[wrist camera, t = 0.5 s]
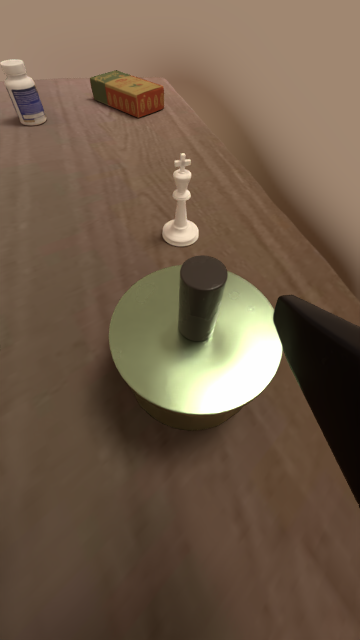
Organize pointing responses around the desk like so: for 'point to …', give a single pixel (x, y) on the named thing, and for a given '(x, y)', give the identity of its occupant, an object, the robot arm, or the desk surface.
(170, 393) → the lid
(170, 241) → the chess piece
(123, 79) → the carton
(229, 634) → the desk surface
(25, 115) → the pill bottle
